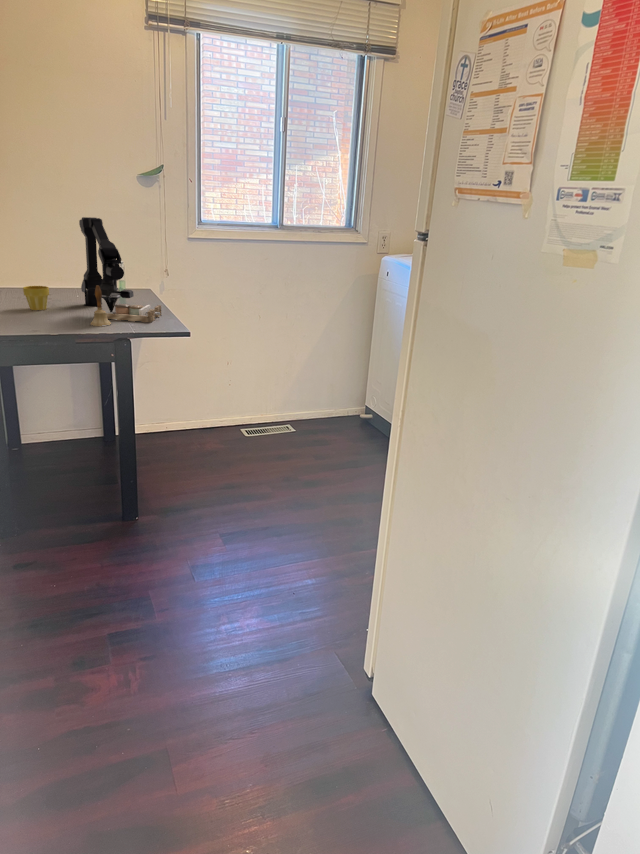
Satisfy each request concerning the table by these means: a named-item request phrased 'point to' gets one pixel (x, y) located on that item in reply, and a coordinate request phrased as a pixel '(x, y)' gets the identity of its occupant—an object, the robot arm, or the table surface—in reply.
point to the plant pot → (36, 297)
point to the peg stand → (144, 311)
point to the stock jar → (135, 309)
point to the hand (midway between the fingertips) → (111, 312)
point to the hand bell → (99, 310)
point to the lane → (137, 316)
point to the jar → (122, 309)
